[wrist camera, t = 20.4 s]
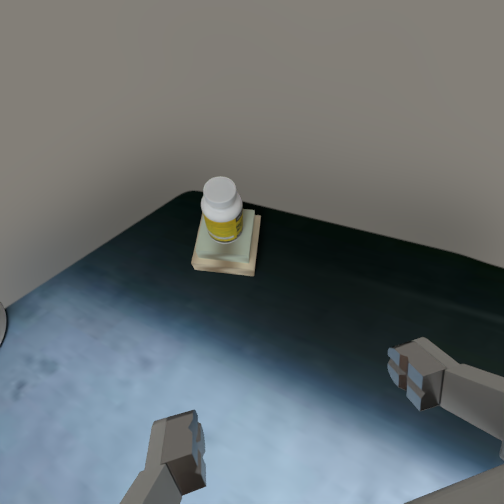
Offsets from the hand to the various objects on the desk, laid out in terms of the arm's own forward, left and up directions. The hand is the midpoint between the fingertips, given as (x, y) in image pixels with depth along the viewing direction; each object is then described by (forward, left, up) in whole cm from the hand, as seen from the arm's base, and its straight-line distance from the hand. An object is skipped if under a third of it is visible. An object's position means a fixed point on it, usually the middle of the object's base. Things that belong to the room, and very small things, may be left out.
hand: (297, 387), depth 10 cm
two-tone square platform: (-8, +19, -29) cm, 36 cm away
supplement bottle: (-8, +19, -24) cm, 32 cm away
